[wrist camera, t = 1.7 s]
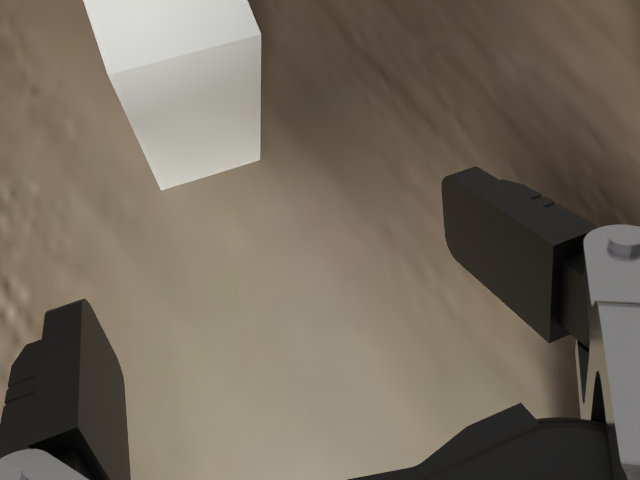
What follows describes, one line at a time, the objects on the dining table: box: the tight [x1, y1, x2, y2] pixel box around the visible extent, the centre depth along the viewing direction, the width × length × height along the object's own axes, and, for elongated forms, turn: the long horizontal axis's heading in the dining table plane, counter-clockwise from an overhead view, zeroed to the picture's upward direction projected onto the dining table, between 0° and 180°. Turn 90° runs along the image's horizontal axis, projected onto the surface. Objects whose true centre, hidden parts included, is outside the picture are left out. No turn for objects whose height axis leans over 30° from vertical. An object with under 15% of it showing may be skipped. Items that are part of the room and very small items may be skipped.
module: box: [83, 0, 261, 191], centre depth 23 cm, size 5×4×10 cm
